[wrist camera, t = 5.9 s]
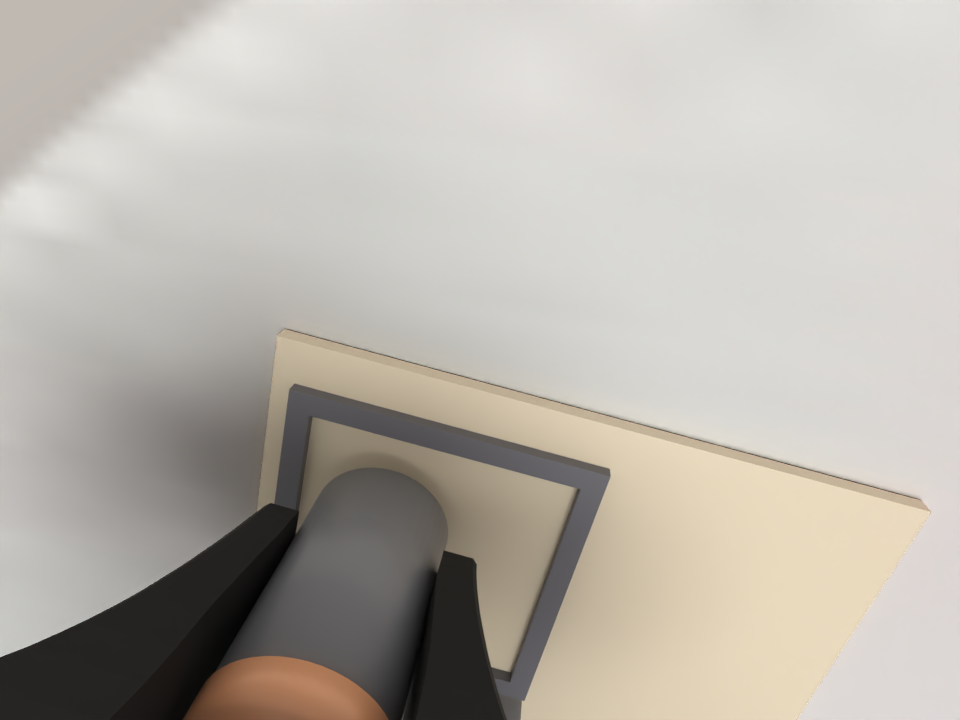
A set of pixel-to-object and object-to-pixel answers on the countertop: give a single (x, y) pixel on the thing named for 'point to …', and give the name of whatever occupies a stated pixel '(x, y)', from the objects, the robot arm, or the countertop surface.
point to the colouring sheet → (601, 537)
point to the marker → (338, 610)
